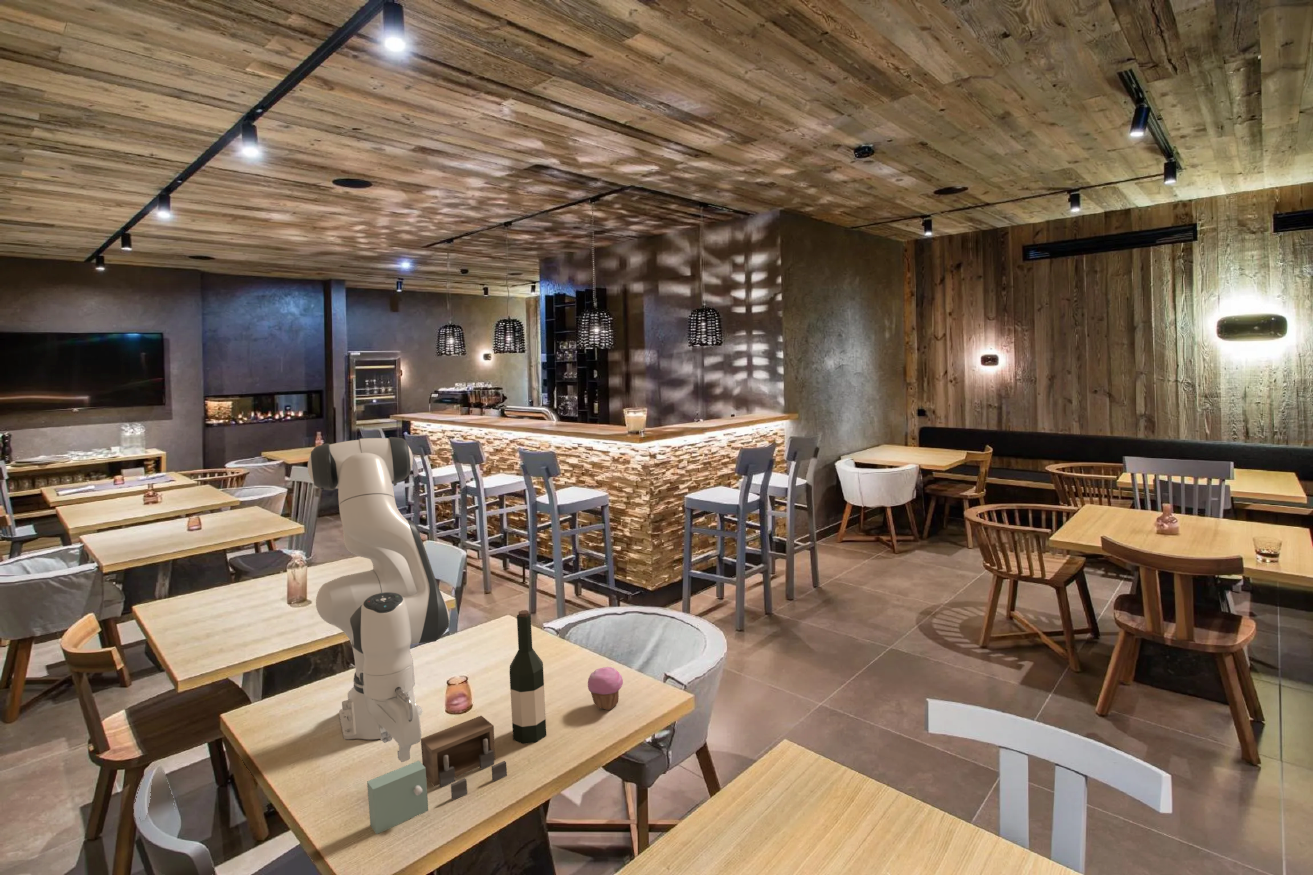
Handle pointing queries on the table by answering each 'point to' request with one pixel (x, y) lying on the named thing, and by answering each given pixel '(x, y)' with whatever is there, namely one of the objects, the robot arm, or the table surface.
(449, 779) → the cabinet
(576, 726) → the table surface
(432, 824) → the table surface
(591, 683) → the cupcake
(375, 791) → the door
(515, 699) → the wine bottle
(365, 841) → the table surface
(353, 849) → the table surface
